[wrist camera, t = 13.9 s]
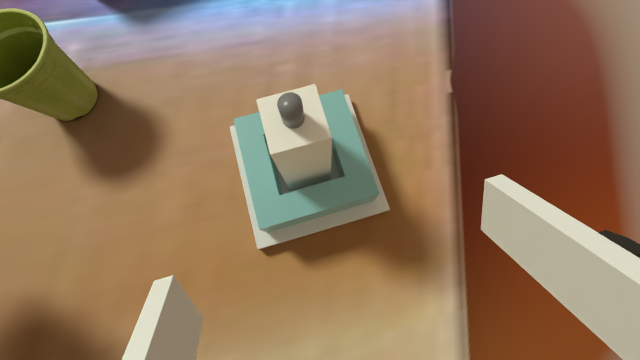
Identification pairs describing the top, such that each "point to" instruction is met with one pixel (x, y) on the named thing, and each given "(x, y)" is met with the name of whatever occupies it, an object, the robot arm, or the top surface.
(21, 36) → the plant pot
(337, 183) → the socket
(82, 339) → the top surface
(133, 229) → the top surface
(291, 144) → the plug
